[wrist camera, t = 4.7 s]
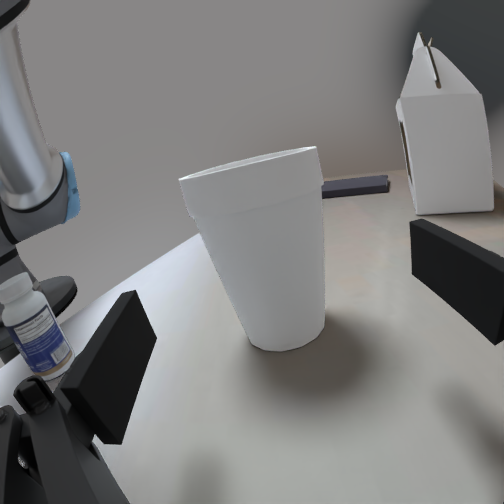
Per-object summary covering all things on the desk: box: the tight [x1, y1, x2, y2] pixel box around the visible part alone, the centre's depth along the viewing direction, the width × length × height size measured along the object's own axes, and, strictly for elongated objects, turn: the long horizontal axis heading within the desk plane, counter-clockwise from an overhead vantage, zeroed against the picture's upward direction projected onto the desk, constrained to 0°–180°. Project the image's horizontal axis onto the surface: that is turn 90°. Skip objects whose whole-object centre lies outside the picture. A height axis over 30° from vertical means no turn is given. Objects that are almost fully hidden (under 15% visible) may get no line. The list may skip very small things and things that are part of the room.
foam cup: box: [179, 146, 325, 351], centre depth 22 cm, size 10×9×13 cm
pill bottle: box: [0, 272, 75, 380], centre depth 23 cm, size 5×5×10 cm
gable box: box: [396, 32, 494, 215], centre depth 41 cm, size 22×13×28 cm, turn 154°
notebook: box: [321, 175, 388, 198], centre depth 67 cm, size 13×2×21 cm
